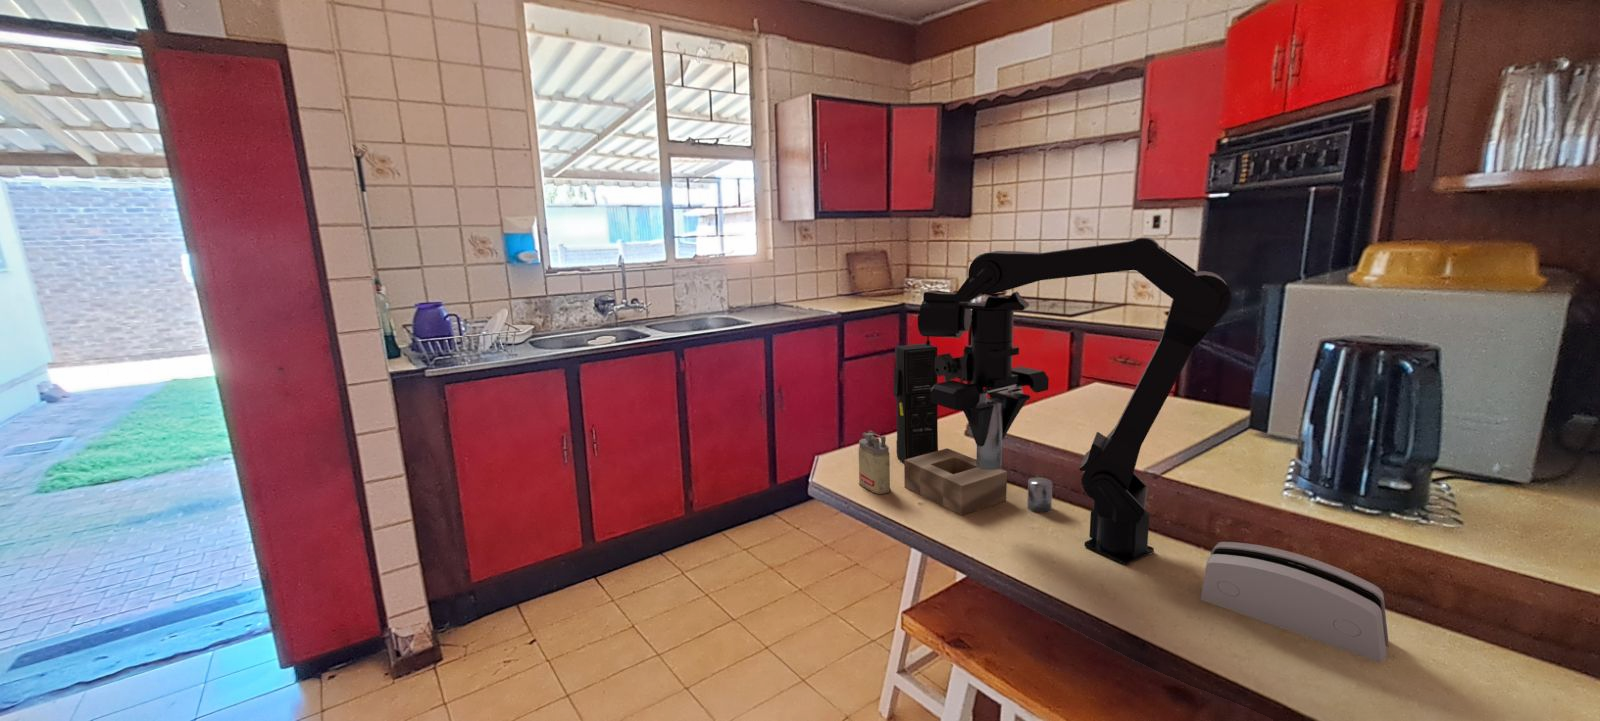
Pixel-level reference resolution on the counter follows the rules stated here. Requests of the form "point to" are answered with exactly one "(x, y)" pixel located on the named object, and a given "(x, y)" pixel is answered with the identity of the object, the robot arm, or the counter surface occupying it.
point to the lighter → (874, 463)
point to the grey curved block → (1298, 596)
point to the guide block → (954, 481)
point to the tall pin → (992, 439)
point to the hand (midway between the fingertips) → (989, 443)
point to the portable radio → (915, 400)
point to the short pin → (1039, 495)
